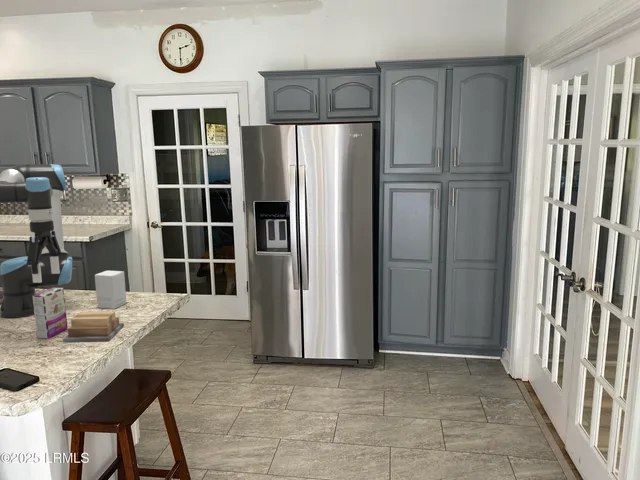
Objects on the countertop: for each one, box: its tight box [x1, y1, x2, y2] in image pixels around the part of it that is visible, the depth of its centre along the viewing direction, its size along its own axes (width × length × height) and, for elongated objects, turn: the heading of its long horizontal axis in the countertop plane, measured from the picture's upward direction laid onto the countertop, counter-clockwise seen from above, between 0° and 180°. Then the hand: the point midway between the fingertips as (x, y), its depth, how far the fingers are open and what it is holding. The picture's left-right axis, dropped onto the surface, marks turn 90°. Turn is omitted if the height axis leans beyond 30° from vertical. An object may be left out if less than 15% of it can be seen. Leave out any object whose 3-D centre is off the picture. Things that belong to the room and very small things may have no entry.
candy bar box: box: [32, 287, 69, 340], centre depth 185 cm, size 11×5×16 cm, turn 171°
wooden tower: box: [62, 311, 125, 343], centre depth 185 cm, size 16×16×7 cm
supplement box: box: [94, 270, 127, 310], centre depth 219 cm, size 9×9×15 cm
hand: (46, 277), depth 182 cm, fingers open, 13 cm apart
